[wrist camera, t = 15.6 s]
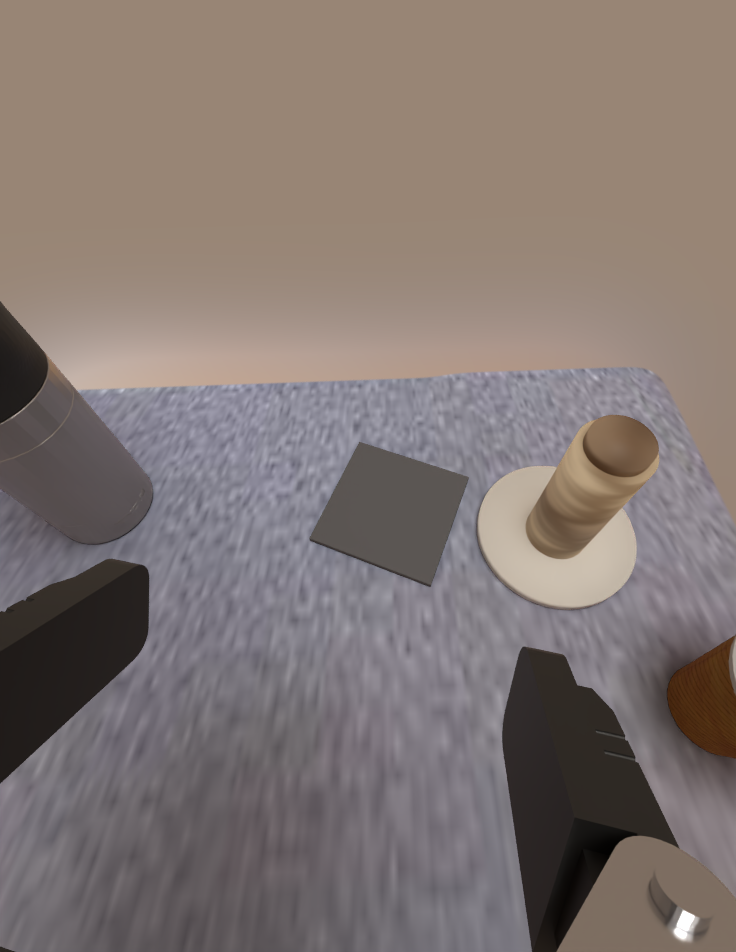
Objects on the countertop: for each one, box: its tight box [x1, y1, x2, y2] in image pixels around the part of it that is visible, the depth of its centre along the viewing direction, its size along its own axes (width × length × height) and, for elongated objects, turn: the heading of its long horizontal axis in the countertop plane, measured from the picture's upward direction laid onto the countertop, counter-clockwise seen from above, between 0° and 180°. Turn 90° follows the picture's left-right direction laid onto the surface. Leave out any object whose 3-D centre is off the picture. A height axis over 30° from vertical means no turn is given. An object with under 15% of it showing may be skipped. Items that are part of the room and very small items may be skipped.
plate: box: [477, 466, 637, 610], centre depth 43 cm, size 14×14×1 cm
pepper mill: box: [526, 415, 659, 559], centre depth 36 cm, size 5×5×14 cm
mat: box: [310, 442, 469, 586], centre depth 45 cm, size 12×12×1 cm
